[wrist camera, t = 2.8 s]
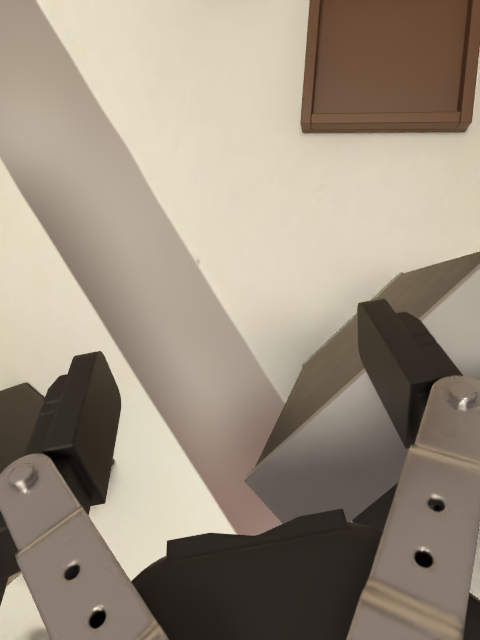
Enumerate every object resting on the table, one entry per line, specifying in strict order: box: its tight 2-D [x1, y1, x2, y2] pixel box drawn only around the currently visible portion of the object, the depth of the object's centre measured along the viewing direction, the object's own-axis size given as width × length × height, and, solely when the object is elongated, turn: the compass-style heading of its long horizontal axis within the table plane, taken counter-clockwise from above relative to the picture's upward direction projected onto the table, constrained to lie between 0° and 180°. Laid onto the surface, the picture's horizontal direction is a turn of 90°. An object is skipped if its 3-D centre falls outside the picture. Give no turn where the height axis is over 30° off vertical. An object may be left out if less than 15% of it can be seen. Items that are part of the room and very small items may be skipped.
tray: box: [301, 0, 480, 132], centre depth 35 cm, size 13×12×2 cm
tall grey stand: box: [245, 252, 480, 531], centre depth 26 cm, size 6×11×25 cm, turn 135°
